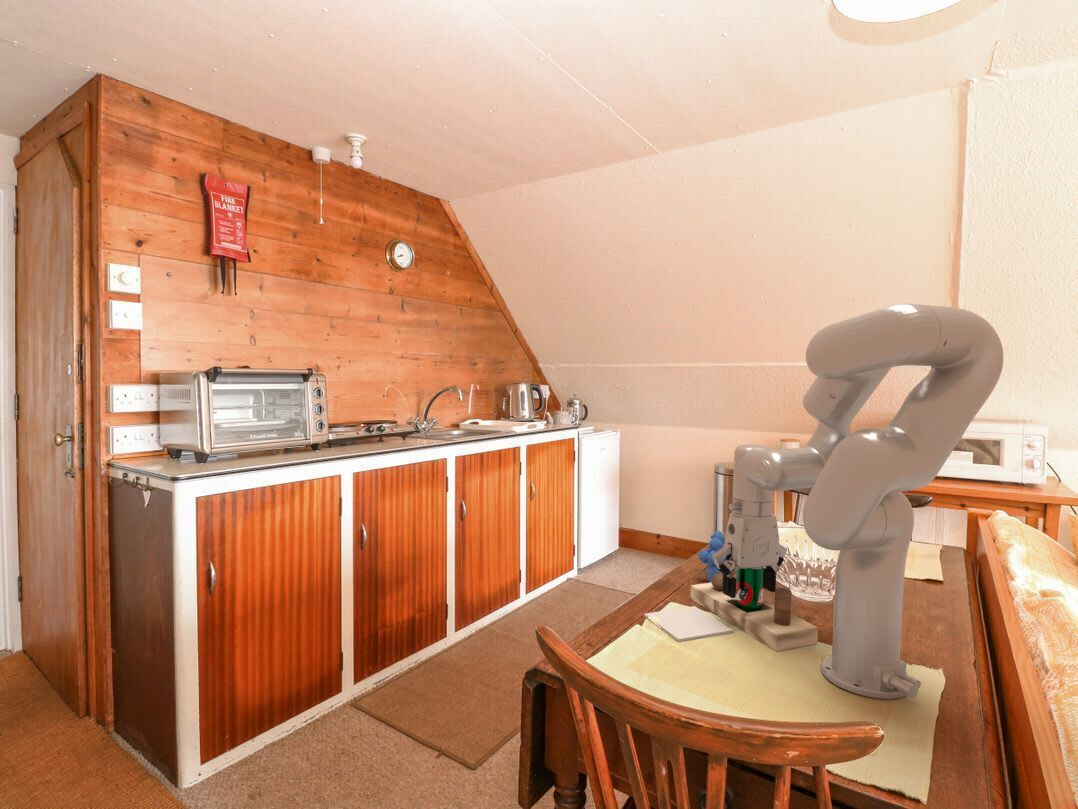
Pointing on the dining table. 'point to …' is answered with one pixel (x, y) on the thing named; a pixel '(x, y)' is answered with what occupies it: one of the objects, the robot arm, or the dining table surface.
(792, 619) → the wooden holder block
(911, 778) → the dining table surface
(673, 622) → the mat
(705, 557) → the grapes
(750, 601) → the soda can
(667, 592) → the dining table surface
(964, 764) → the dining table surface
